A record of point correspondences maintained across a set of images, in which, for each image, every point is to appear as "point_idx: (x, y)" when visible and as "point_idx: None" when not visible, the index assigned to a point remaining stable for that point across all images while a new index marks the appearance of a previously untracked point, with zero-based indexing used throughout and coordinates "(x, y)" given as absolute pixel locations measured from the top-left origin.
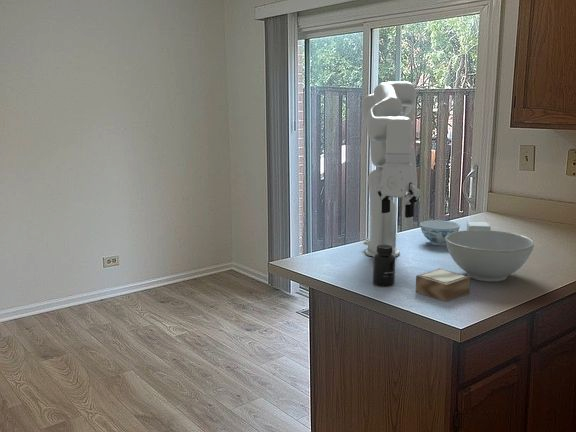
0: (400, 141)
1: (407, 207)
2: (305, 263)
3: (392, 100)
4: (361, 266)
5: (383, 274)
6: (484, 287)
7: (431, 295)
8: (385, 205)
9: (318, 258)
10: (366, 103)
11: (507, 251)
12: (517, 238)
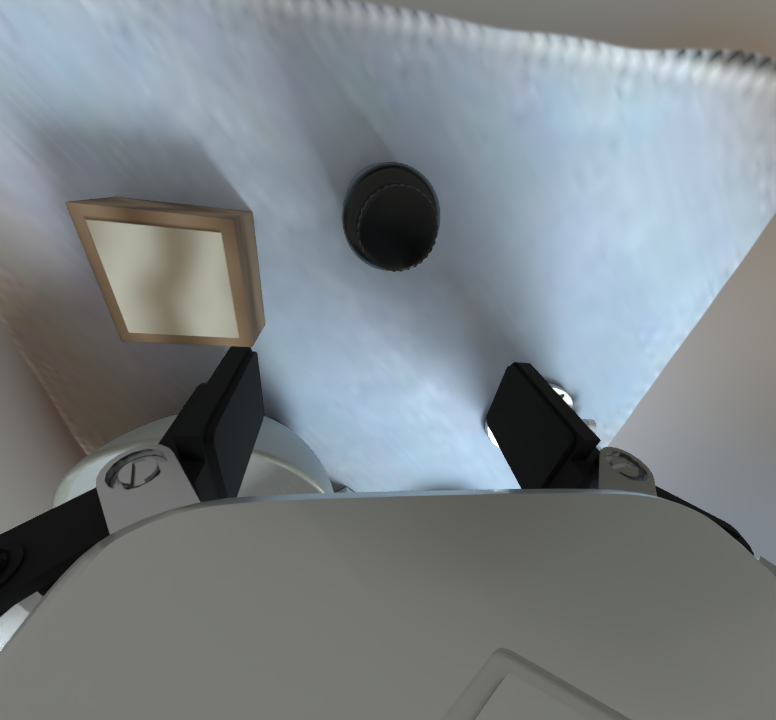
0: None
1: (195, 420)
2: (714, 194)
3: None
4: (528, 301)
5: (360, 172)
6: (176, 379)
7: (178, 204)
8: (531, 423)
9: (682, 272)
10: None
11: (56, 487)
12: None
